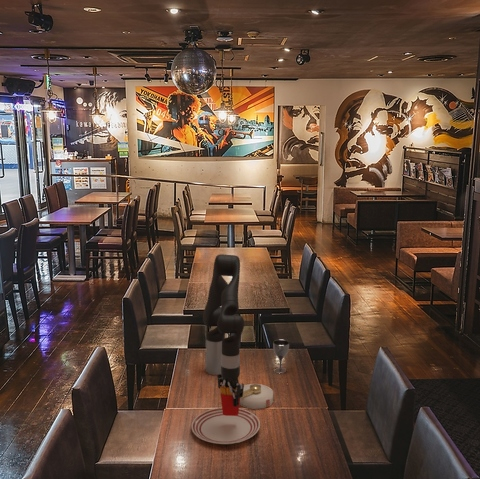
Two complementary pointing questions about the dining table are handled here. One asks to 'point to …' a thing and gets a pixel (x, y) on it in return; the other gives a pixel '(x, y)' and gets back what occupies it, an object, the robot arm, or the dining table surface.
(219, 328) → the robot arm
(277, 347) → the wine glass
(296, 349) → the dining table surface
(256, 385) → the crank
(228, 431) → the dinner plate
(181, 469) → the dining table surface
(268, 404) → the crank housing
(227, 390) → the french fries
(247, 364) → the dining table surface
